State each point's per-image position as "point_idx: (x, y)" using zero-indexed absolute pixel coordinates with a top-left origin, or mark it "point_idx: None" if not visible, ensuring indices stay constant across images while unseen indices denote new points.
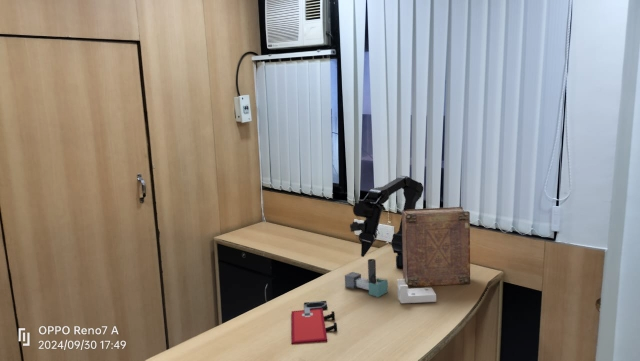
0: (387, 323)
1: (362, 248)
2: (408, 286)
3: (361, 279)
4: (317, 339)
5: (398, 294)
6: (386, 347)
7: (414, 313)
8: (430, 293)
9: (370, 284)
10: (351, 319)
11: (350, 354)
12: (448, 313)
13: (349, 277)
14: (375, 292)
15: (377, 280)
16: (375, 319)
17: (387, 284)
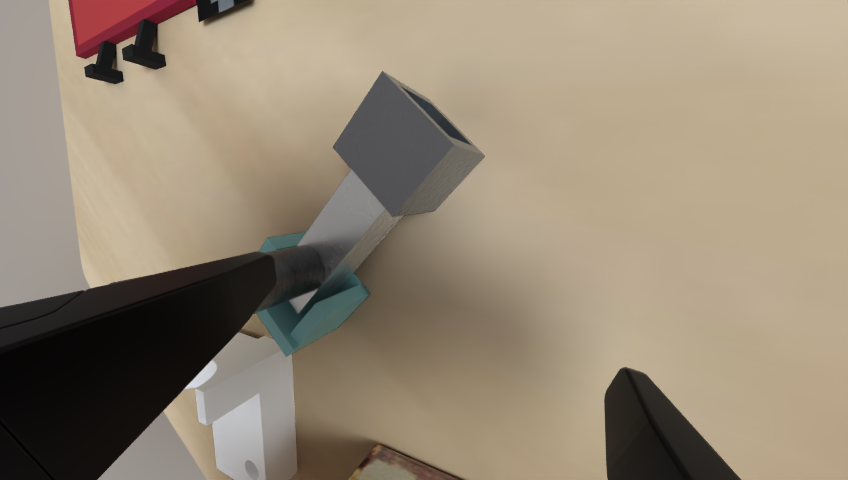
0: (154, 241)
1: (86, 311)
2: (376, 447)
3: (348, 208)
4: (74, 26)
5: (254, 349)
6: (89, 209)
7: None
8: (225, 458)
9: (264, 246)
10: (162, 130)
11: (65, 123)
12: (200, 430)
13: (358, 116)
14: None
15: (317, 305)
16: (167, 211)
17: (307, 343)
